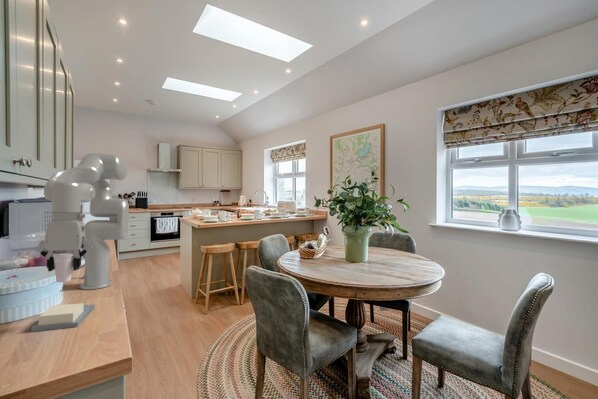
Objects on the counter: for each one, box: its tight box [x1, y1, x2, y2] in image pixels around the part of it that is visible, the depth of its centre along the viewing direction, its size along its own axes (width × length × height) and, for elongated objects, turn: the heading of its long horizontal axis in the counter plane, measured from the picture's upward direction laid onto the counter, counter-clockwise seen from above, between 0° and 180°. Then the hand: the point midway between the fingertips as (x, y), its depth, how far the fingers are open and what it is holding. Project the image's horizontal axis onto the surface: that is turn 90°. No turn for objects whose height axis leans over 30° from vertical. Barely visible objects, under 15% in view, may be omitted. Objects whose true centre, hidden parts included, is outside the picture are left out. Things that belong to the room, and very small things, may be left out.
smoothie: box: [52, 251, 75, 283], centre depth 92 cm, size 6×6×14 cm
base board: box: [30, 302, 96, 333], centre depth 95 cm, size 16×12×4 cm
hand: (64, 269), depth 93 cm, fingers closed on smoothie, 6 cm apart
